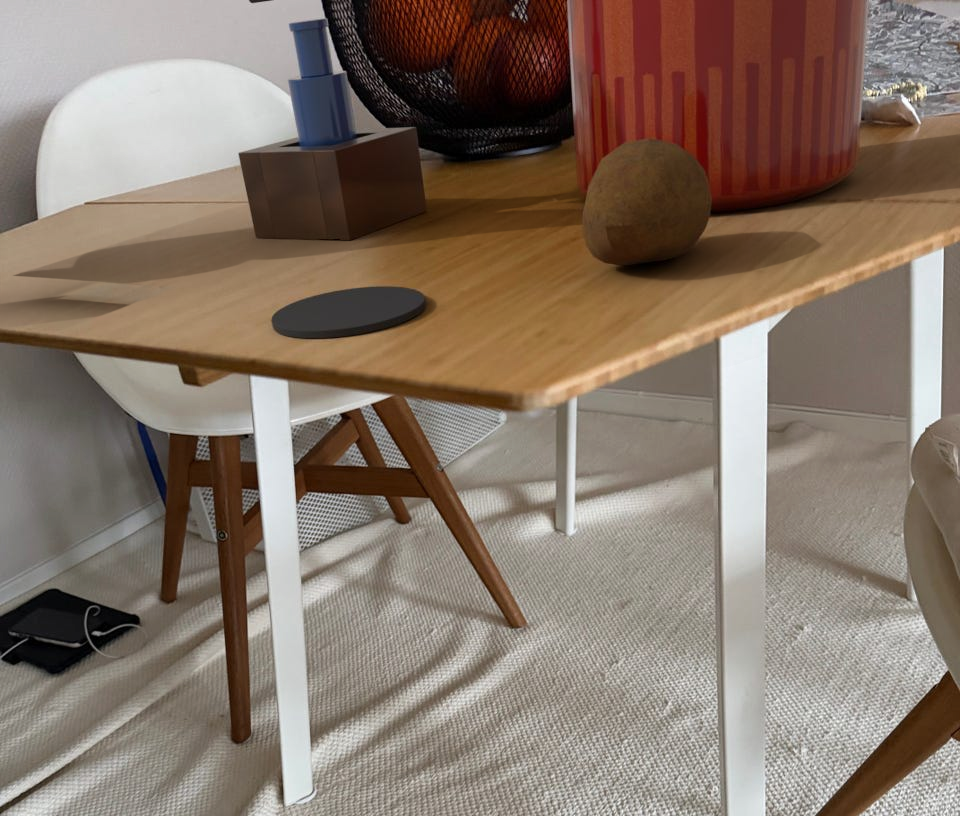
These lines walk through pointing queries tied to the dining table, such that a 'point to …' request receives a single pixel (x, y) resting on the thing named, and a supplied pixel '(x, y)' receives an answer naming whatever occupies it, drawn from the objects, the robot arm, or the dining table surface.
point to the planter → (723, 89)
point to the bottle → (319, 89)
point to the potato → (645, 203)
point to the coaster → (348, 312)
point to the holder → (334, 185)
